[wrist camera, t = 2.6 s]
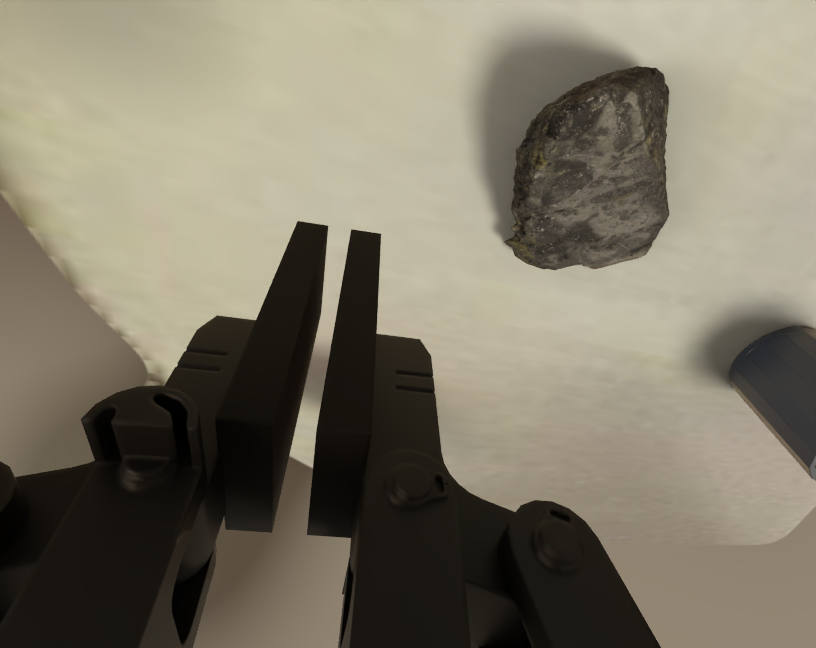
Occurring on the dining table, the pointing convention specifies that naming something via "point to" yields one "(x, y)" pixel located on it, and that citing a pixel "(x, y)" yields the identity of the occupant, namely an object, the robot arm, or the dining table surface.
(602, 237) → the rock
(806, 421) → the cup
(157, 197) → the dining table surface
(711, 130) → the dining table surface
